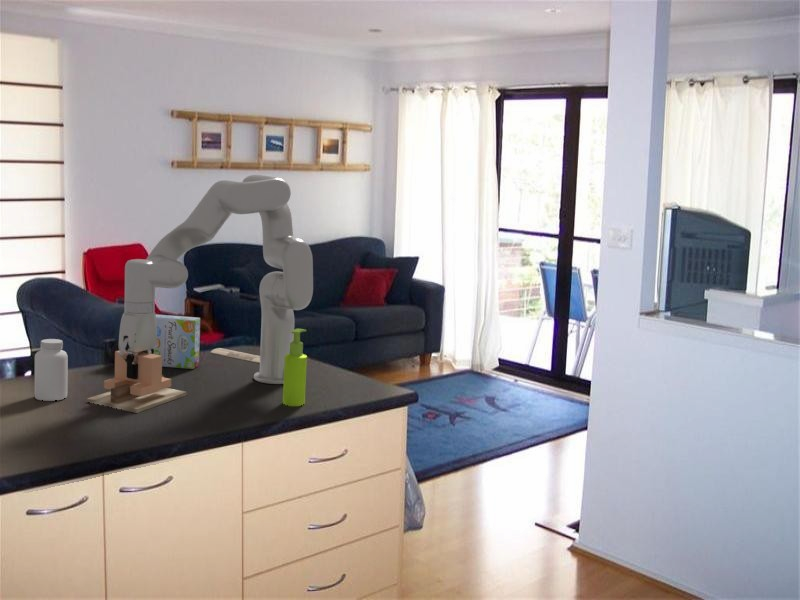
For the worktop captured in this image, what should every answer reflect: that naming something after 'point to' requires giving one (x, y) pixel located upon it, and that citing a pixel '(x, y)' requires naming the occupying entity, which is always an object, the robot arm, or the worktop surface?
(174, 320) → the snack box
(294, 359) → the soap dispenser
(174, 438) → the worktop surface
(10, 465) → the worktop surface
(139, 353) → the cross plate
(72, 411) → the worktop surface
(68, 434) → the worktop surface
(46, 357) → the pill bottle
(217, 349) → the newspaper
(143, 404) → the base
